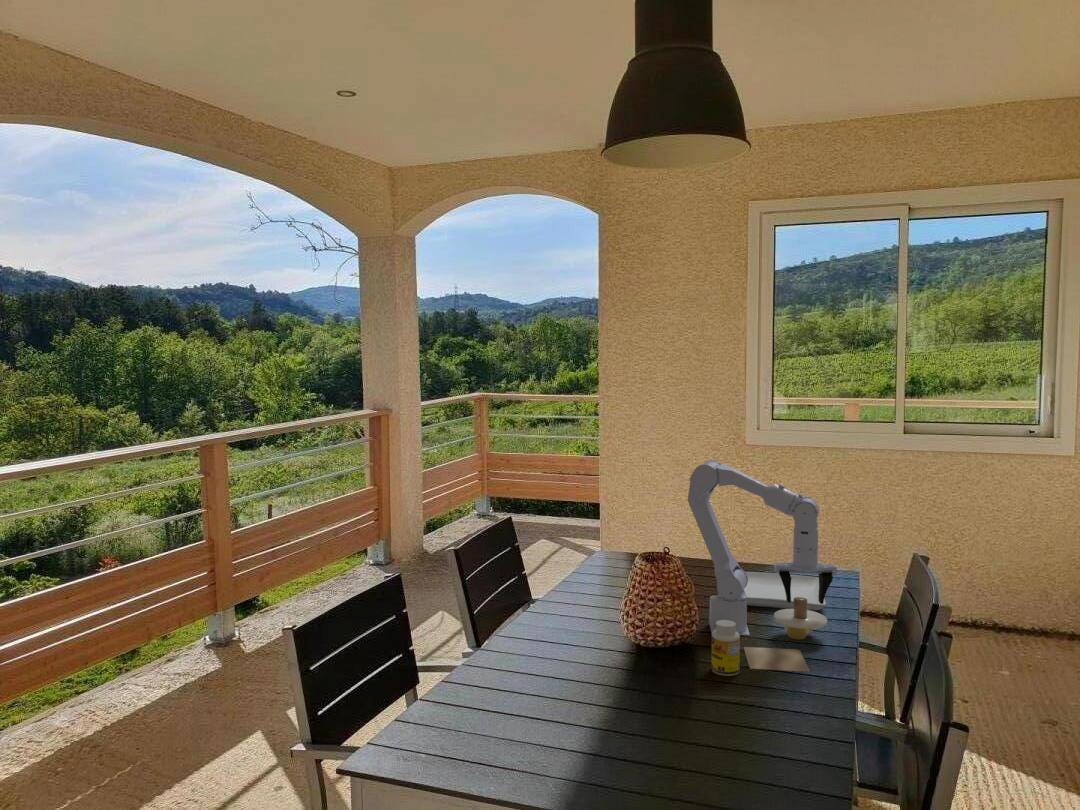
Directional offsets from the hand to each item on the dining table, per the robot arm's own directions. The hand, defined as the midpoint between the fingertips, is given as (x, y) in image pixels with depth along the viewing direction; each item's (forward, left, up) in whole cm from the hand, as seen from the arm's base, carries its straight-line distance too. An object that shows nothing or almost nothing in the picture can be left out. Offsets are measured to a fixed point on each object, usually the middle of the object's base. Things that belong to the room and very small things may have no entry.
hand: (804, 601), depth 190 cm
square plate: (-2, +36, -10) cm, 37 cm away
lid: (-1, +1, -5) cm, 5 cm away
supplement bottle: (-21, -22, -10) cm, 32 cm away
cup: (-1, +2, -10) cm, 11 cm away
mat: (-9, -14, -10) cm, 19 cm away
